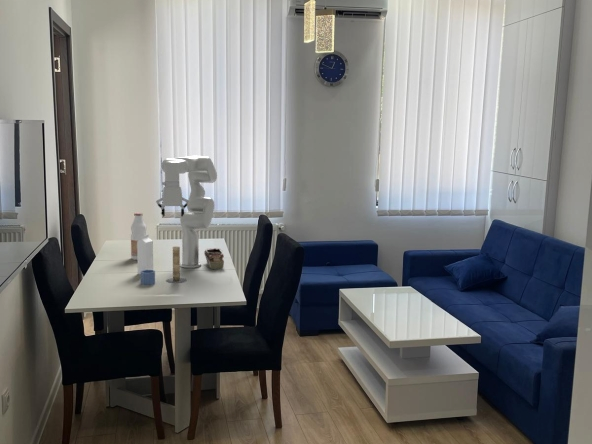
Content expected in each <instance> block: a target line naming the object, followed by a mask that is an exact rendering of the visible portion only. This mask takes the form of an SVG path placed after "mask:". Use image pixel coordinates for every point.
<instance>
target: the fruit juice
mask: <svg viewBox="0 0 592 444" xmlns="http://www.w3.org/2000/svg"><path fill="white" fill-rule="evenodd" d="M143 215H144V214H143V212H134V218H133V221H132V224H131V226H130V231H131V234H130V251H131V252H130V255H131V256H130V257H131V260H133V261H134V260H135V261H138V259H137V241H139V240H141V236H145V235H148V234H147V232H146V231H147V225H146V223H145V221H144V219H143Z"/></svg>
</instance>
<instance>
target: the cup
mask: <svg viewBox="0 0 592 444" xmlns="http://www.w3.org/2000/svg"><path fill="white" fill-rule="evenodd" d="M140 284H141V285H142V286H153V285H155V284H156V270H154V269H153V270H143V271H141V274H140Z"/></svg>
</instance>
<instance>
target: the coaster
mask: <svg viewBox="0 0 592 444" xmlns="http://www.w3.org/2000/svg"><path fill="white" fill-rule="evenodd" d="M187 281H188V279H186V278H183V277H180V281H173V277H171V278H167V279H166V280H165V282H166V283H168V284H183V283H186V282H187Z"/></svg>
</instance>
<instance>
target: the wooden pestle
mask: <svg viewBox="0 0 592 444" xmlns="http://www.w3.org/2000/svg"><path fill="white" fill-rule="evenodd" d="M180 250H181V247H180V246H177V245H175V246H173V247H172V278H173V281H180V278H181V277H180V276H181V268H180V267H181V266H180V263H181V261H180V260H181V257H180V256H181V251H180Z"/></svg>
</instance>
